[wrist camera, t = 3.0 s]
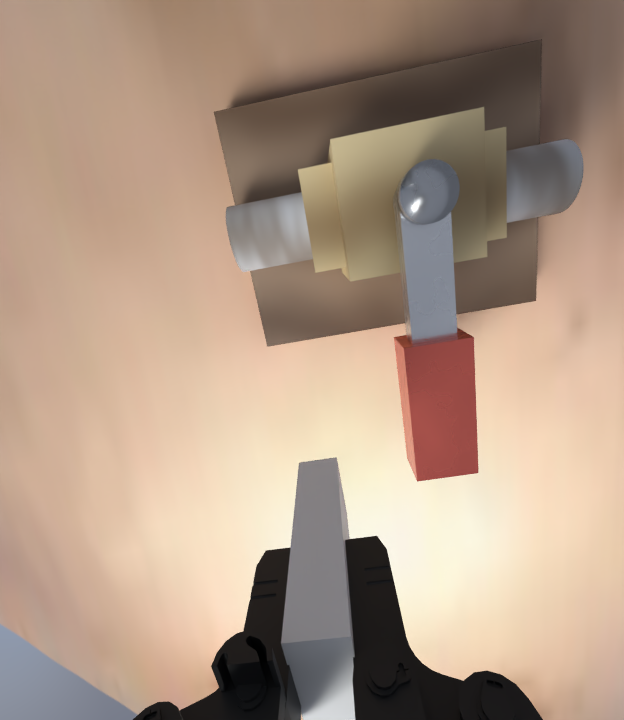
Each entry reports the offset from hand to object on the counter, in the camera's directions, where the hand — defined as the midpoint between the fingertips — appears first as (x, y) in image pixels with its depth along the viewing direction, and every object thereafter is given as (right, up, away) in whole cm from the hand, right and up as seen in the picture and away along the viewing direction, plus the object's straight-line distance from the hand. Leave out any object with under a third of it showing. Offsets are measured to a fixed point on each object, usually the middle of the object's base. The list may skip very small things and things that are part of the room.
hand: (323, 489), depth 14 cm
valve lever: (+5, +7, +3) cm, 9 cm away
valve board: (+4, +15, +9) cm, 18 cm away
